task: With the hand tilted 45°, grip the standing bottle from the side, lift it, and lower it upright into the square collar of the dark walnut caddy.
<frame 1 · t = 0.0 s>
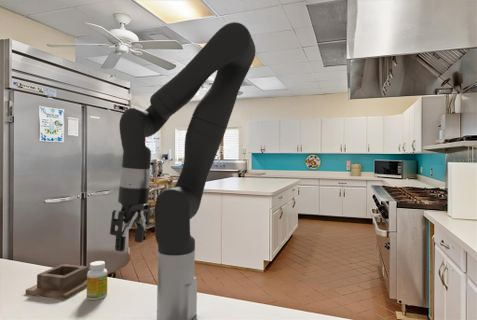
hand: (129, 246, 77), 17 cm above the table, tool pointing down, fingers open, 8 cm apart
supplement bottle: (96, 296, 85), on the table
caddy: (63, 287, 91), on the table
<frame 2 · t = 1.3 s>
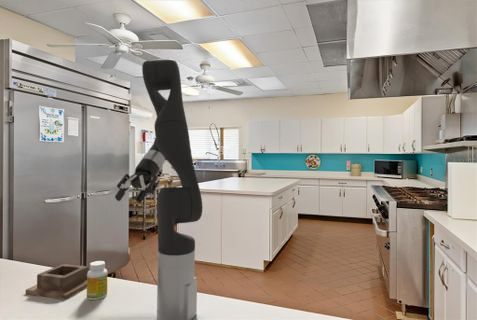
hand: (127, 200, 96), 27 cm above the table, tool tilted 45°, fingers open, 8 cm apart
nothing on the table moved.
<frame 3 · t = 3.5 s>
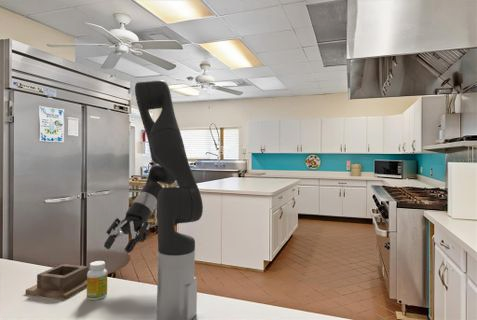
hand: (116, 249, 92), 12 cm above the table, tool tilted 45°, fingers open, 8 cm apart
nothing on the table moved.
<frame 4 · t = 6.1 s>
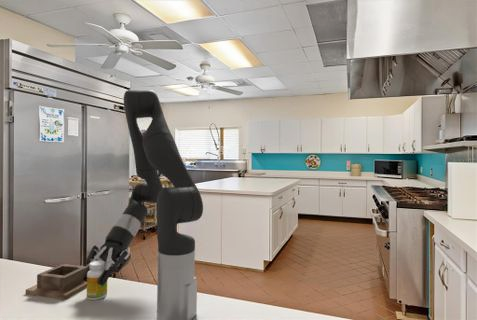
hand: (92, 282, 84), 5 cm above the table, tool tilted 45°, fingers closed on supplement bottle, 5 cm apart
supplement bottle: (96, 296, 85), on the table, touching gripper
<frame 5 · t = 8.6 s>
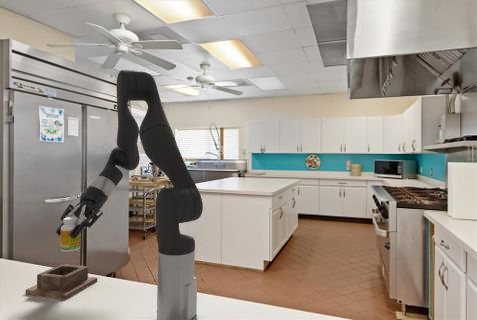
hand: (65, 235, 89), 17 cm above the table, tool tilted 45°, fingers closed on supplement bottle, 5 cm apart
supplement bottle: (70, 250, 91), point 12 cm above the table, touching gripper
when the fingers open (8 cm above the table, at t = 11.3 s): supplement bottle drops 2 cm, resting on caddy.
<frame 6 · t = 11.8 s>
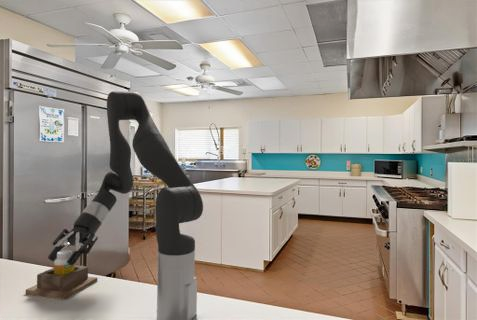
hand: (59, 262, 90), 8 cm above the table, tool tilted 45°, fingers open, 8 cm apart
supplement bottle: (63, 283, 91), point 1 cm above the table, touching caddy
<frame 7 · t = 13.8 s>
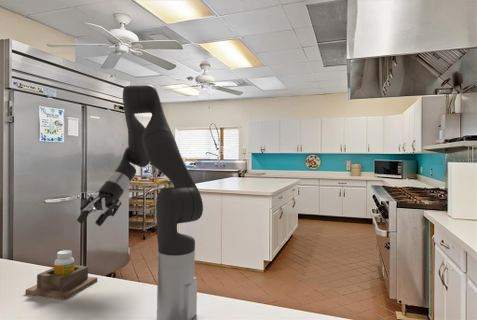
hand: (88, 223, 99), 18 cm above the table, tool tilted 45°, fingers open, 8 cm apart
nothing on the table moved.
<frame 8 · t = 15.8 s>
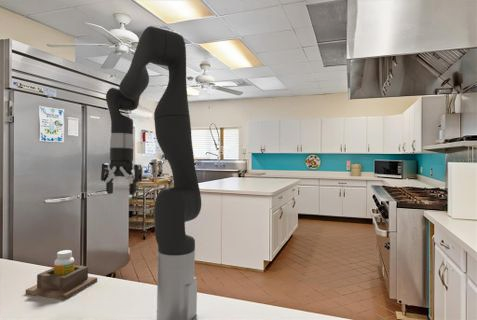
hand: (120, 194, 101), 28 cm above the table, tool pointing down, fingers open, 8 cm apart
nothing on the table moved.
at the end: supplement bottle 0.2 cm off-centre on the caddy, point 1.0 cm above the caddy's base; supplement bottle tilted 0°; the gripper is holding nothing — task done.
